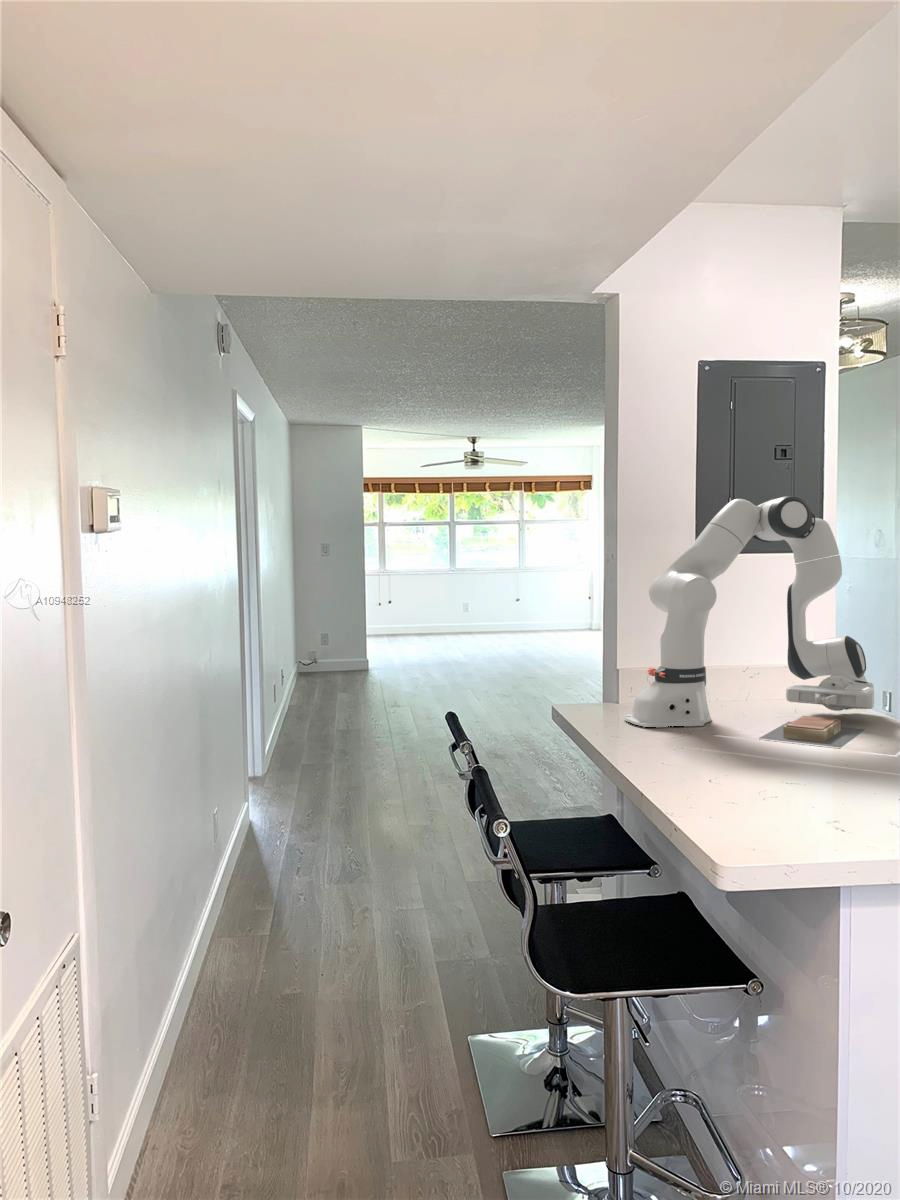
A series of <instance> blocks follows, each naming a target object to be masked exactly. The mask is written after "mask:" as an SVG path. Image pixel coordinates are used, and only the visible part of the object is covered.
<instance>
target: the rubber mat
mask: <svg viewBox="0 0 900 1200" xmlns="http://www.w3.org/2000/svg"><path fill="white" fill-rule="evenodd" d="M791 722H792V721H787V722H785V723H783V724H781V725H779V726H778V727H776V728H775V729H773V730H771V731H769V732H767V733H765V734H764V735H762V736H760V737H759V738H758V740H759V741H762V740H765V741H768V742H771V741H773V742H775V743H779V742H782V743H784V744H785V743H786V744H788V743H791V744H793V745H797V744H800V745H802V746H806V745H808V746H810V747H811V746H812V747H814V746H817V747H818V748H819V747H820V748H823V747H826V748H827V749H828V748H829V749H832V748H835V749H837V750H841V748H842V747H844V746H846V745H847V744H848V743H849V742H850V741H852V740H853V739H855V738H856V737H857V736H859V735H860V734H861V733H863V732H864V731H865V730H866V728H858V727H850V726H841V731H839V732H838V733H836V734H835V735H833V736H832V737H830V738H829V739H827V740H826V741H825V742H821V741H812V740H803V739H794V738H785V737H783V727H784V726H786V725H787V724H789V723H791Z"/></svg>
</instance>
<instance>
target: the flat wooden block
mask: <svg viewBox="0 0 900 1200" xmlns="http://www.w3.org/2000/svg"><path fill="white" fill-rule="evenodd" d="M790 722H791V723H789V724H787V725H786V726H784V727H783V737H785V738H794V739H803V740H812V741H821V742H825V741H826V740H827V739H829V738H830V737H832V736H833V735H835V734H836V733H838V732H839V731H841V727H842V724H841V723H842V722H841V720H840V719H838V718H829V717H820V716H819V717H818V716H808V715H802V716H801V717H798V718H797V719H795V720H793V721H790Z"/></svg>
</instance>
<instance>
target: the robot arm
mask: <svg viewBox="0 0 900 1200" xmlns="http://www.w3.org/2000/svg"><path fill="white" fill-rule="evenodd" d="M752 538H753V539H756V540H757V541H760V542H766V543H769V542H770V543H772V542H775V541H776V542H777V541H778V542H780V541H785V542H786V543H787V544H788V546H789V547H790V548H791V550H792V551H791V552H792V553H793V559H794V564H795V576H794V580H793V582H792V583H791V584H790V585H789V586H788V588H787V595H786V596H787V597H786V606H787V607H786V614H787V640H788V641H787V643H788V644H787V666H788V670H789V671H790V673H791V674H792V675H794V676H795V677H797V678H799V679H801V680H804V681H805V680H811V679H815V678H818V677H824V676H827V677H826V678H824V679H822V681H821V682H820V683H819V684H818V685H810V684H809V685H808V684H807V685H806V684H796V685H792V686H789V687H788V686H787V687H786V691H785V692H786V693H785V694H786V695H785V697H786V701H787V702H789V703H799V704H812V705H823V707H825V708H826V709H828V710H830V711H835V712H839V711H843V710H845V711H847V710H854V709H856V710H858V709H859V710H861V709H862V710H863V709H864V710H867V709H868V710H870V709H874V707H875V689H874V687H875V686H874V683H873V682H868V681H867V678H866V676H865V675H864V674H865V673H866V670H867V662H866V661H867V660H866V659H867V658H866V656H865V652H864V649H863V647H862V646H861V644H860V643H859V642H858V641H857V640H855V639H854V638H852V637H851V636H850V635H845V636H837V637H829V638H825V639H817V640H810V641H809V640H808V639H807V625H806V612H807V611H806V610H807V608H808V606H809V605H810V603H811V602H813V601H814V600H815V599H817V598H818V597H820V596H822V595H824V594H826V593H828V592H829V591H831V590H833V588H835V587H836V586H837V584H838V583H839V582H840V581H841V578H842V575H843V565H842V559H841V555H840V551H839V547H838V544H837V541H836V538H835V535H834V534H833V530H832V529H831V526H830V524H829V523H828V521H826V520H825V519H823V518H819V517H816V516H815V514H813V512H812V511H811V509H810V507H809V505H808V504H807V503H806V501H804V500H803V499H802V498H800V497H797V496H794V495H793V496H792V495H785V496H781V497H778V498H772V499H769V500H767V501H765V502H762V503H760V504H758V505H755V504H754V503H752V502H751V501H749V500H747V499H743V498H735V499H732V500H730V501H729V502H728V503H726V504H725V505H724V506H723V507H722V508H721V509H720V510H719V511H718V512H717V513H716V515H714V517H713V518H711V520H710V521H709V523H707V525H706V526H705V527H704V529H703V530H702V532H701V533H700V534H698V536H697V538H696V539H695V540H694V542H693V543H692V544H691V545H690V546H689V548H687V550H686V551H685V552H683V553H682V555H680V556H679V557H678V558H676V560H675V561H674V562H673V563H671V565H670V566H669V567H668V568H666V570H665V571H663V573H661V574H660V575H659V576H657V577H655V578H654V579H653V580H652V581H651V582H650V585H649V589H648V596H649V599H650V601H651V603H652V604H653V605H654V606H655V607H656V608H657V609H659V610H660V611H662V612H664V613H667V617H666V622H665V627H664V630H663V632H662V634H661V635H660V665H659V667H658V668H657V669H656V668H654V667H649V668H648V669H647V671H646V672H647V675H649V676H652V677H654V681H653V682H652V683H650V684H649V685H648V686H647V687H646V688H644V689H643V690H642V691H641V692H639V693H638V694H637V695H636V696H635V697H634V700H633V704H632V713H628V714H625V715H624V716H623V718H625V719H626V720H627V721H629V722H631V723H633V724H636V725H639V726H644V727H643V728H645V727H656V728H674V727H673V726H684V727H702V726H705V724H707V723H709V722H711V721H712V717H711V713H710V710H709V707H708V702H707V701H708V700H707V693H706V692H707V691H706V685H707V669H706V668H707V667H706V666H705V632H706V628H707V623H708V619H709V614H710V611H711V610H712V608H713V607H714V606H715V604H716V601H717V589H716V587H715V585H714V584H713V581H714V580H715V579H717V578H718V577H719V576H720V575H724V573H725V572H727V570H728V569H729V567H731V565H732V564H733V562H734V561H735V560H736V558H737V557H738V556H739V554H740V553H741V552H742V550H744V548H745V546H746V545H747V543H748V542H749V541H750V540H751V539H752ZM639 726H638V727H639ZM668 726H669V727H668ZM670 726H672V727H670Z"/></svg>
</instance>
